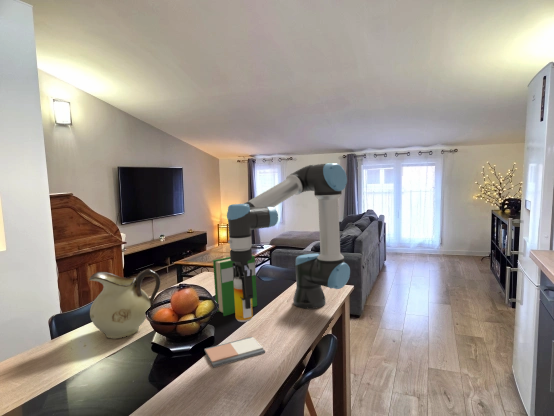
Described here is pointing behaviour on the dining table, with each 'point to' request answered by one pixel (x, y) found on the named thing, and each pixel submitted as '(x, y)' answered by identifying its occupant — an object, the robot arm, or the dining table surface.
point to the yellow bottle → (240, 301)
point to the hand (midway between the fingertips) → (244, 313)
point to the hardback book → (229, 284)
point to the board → (233, 351)
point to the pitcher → (121, 303)
